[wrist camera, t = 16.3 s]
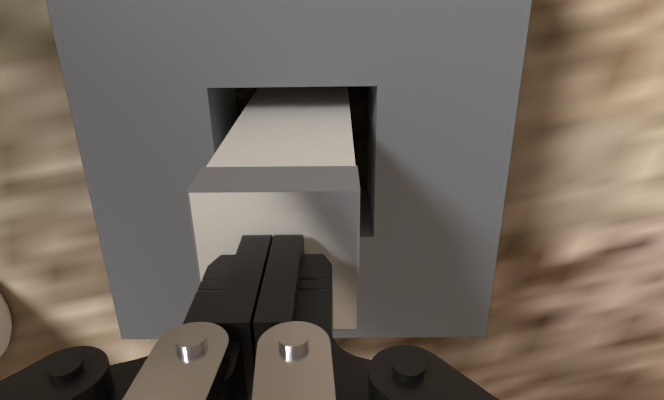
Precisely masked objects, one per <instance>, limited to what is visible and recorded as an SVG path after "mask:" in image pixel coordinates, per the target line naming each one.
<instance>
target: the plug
mask: <svg viewBox="0 0 664 400" xmlns="http://www.w3.org/2000/svg"><path fill="white" fill-rule="evenodd" d="M187 198H188V206H189V213H190V220H191V228H192V235H193V242H194V250H195V257H196V264H197V271H198V279H199V285H200V283H201V281H202V278H203V276H204V274H205V271H206V269H207V267H208V265H209V264H211V263H212V262H213V261H214V260H215V259H217V258H218V257H219V256H220V255H236V252H237V249H238V246H239V243H240V241H241V238H242V236H243V235H273V236H274V235H300V234H303V236H304V253H305V254H324V255H325V256H326V257H327V259H328V260H329V261H330V263H331V264H332V288H333V331H358V324H359V249H360V182H359V173H358V166H356V165H355V155H354V145H353V135H352V125H351V115H350V105H349V95H348V86H337V87H258V89H257V90H256V92H255V93H254V95H253V96H252V98H251V99H250V101H249V102H248V104H247V105H246V107H245V108H244V110H243V111H242V113H241V114H240V116H239V117H238V119H237V120H236V122H235V123H234V125H233V127H232V128H231V130H230V131H229V133H228V134H227V136H226V137H225V139H224V140H223V142H222V143H221V145H220V146H219V148H218V149H217V151H216V152H215V154H214V155H213V157H212V158H211V160H210V161H209V163H208V164H207V166H206V167H202V169H201V170H200V171H199V173H198V174H197V176H196V177H195V179H194V180H193V182H192V183H191V185H190V186H189V188H188V189H187Z"/></svg>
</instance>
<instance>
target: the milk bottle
mask: <svg viewBox="0 0 664 400" xmlns="http://www.w3.org/2000/svg"><path fill="white" fill-rule="evenodd" d="M11 331H12V320H11V314H10V311H9V308H8V305H7V303H6V301H5V300H4V298H3V296H2V295H1V293H0V357H1V356H2V354H3V353H4V352H5V350H6V349H7V347H8V344H9V342H10V337H11Z"/></svg>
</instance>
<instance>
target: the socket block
mask: <svg viewBox="0 0 664 400" xmlns="http://www.w3.org/2000/svg"><path fill="white" fill-rule="evenodd" d="M46 3H47V7H48V12H49V16H50V21H51V25H52V30H53V34H54V38H55V43H56V47H57V52H58V56H59V61H60V65H61V70H62V74H63V79H64V83H65V88H66V92H67V96H68V101H69V105H70V110H71V114H72V119H73V123H74V128H75V132H76V137H77V141H78V146H79V150H80V154H81V159H82V163H83V168H84V172H85V177H86V181H87V186H88V190H89V195H90V199H91V203H92V208H93V212H94V217H95V221H96V226H97V230H98V235H99V239H100V244H101V248H102V253H103V257H104V261H105V266H106V270H107V275H108V279H109V284H110V288H111V293H112V297H113V302H114V306H115V311H116V315H117V319H118V324H119V328H120V333H121V337H122V339H159V338H160V337H161V336H162V335H164V334H165V333H166V332H168V331H169V330H171V329H173V328H175V327H177V326H180V325H182V324H183V322H184V320H185V317H186V315H187V313H188V310H189V308H190V306H191V304H192V301H193V299H194V297H195V294H196V292H198V287H199V279H198V271H197V264H196V257H195V250H194V242H193V235H192V228H191V220H190V213H189V206H188V198H187V189H188V188H189V186H190V185H191V183H192V182H193V180H194V179H195V177H196V176H197V174H198V173H199V171H200V170H201V169H202V167H206V166H207V164H208V163H209V161H210V160H211V158H212V157H213V155H214V154H215V152H216V151H217V149H218V148H219V146H220V145H221V143H222V142H223V140H224V139H225V137H226V136H227V134H228V133H229V131H230V130H231V128H232V127H233V125H234V123H235V122H236V120H237V119H238V115H237V104H236V93H235V88H248V87H337V86H369V96H368V157H367V188H360V249H359V324H358V331H333V338H403V337H486V333H487V326H488V318H489V311H490V304H491V296H492V289H493V282H494V274H495V267H496V260H497V252H498V245H499V238H500V230H501V223H502V216H503V208H504V201H505V194H506V186H507V179H508V172H509V165H510V157H511V150H512V143H513V135H514V128H515V121H516V113H517V106H518V99H519V91H520V84H521V77H522V69H523V62H524V55H525V47H526V40H527V33H528V25H529V18H530V11H531V4H532V0H46Z"/></svg>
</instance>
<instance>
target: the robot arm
mask: <svg viewBox="0 0 664 400" xmlns="http://www.w3.org/2000/svg"><path fill="white" fill-rule="evenodd" d="M0 400H498V399H497V398H495V397H494V396H493V395H491V394H490V393H488V392H487V391H486V390H484V389H483V388H481V387H480V386H478V385H477V384H476V383H474V382H473V381H471V380H470V379H469V378H467V377H466V376H464V375H463V374H461V373H460V372H459V371H457V370H456V369H454V368H453V367H452V366H450V365H449V364H447V363H446V362H444V361H443V360H442V359H440V358H439V357H437V356H436V355H434V354H433V353H431V352H429V351H427V350H425V349H422V348H419V347H415V346H407V345H401V346H393V347H389V348H386V349H384V350H382V351H380V352H379V353H377V354H376V355H375V356H374V357H373V359H372V360H368V359H364V358H360V357H357V356H354V355H352V354H349V353H347V352H346V351H344V350H343V349H342V348H340V347H339V346H338V345H337V344H336V342H335V341H334V339H333V288H332V264H331V263H330V261H329V260H328V259H327V257H326V256H325V255H324V254H305V253H304V236H303V234H300V235H274V236H273V235H243V236H242V238H241V241H240V243H239V246H238V249H237V252H236V255H220V256H219V257H218V258H217V259H215V260H214V261H213V262H212V263H211V264H209V265H208V267H207V269H206V271H205V274H204V276H203V278H202V281H201V283H200V285H199V287H198V292H196V294H195V297H194V299H193V301H192V304H191V306H190V308H189V310H188V313H187V315H186V317H185V320H184V322H183V324H182V325H180V326H177V327H175V328H173V329H171V330H169V331H168V332H166V333H165V334H164V335H162V336H161V337H160V338H159V340H158V341H157V342H156V344H155V346H154V347H153V349H152V351H151V352H150V354H149V356H146V357H143V358H140V359H136V360H132V361H127V362H123V363H118V364H114V365H109V361H108V357H107V355H106V354H105V353H104V352H103V351H102V350H100V349H98V348H95V347H91V346H77V347H71V348H67V349H63V350H60V351H58V352H55V353H53V354H51V355H49V356H47V357H45V358H43V359H41V360H39V361H37V362H36V363H34V364H32V365H30V366H28V367H26V368H24V369H22V370H21V371H19V372H17V373H15V374H13V375H11V376H9V377H7V378H6V379H4V380H2V381H0Z"/></svg>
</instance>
